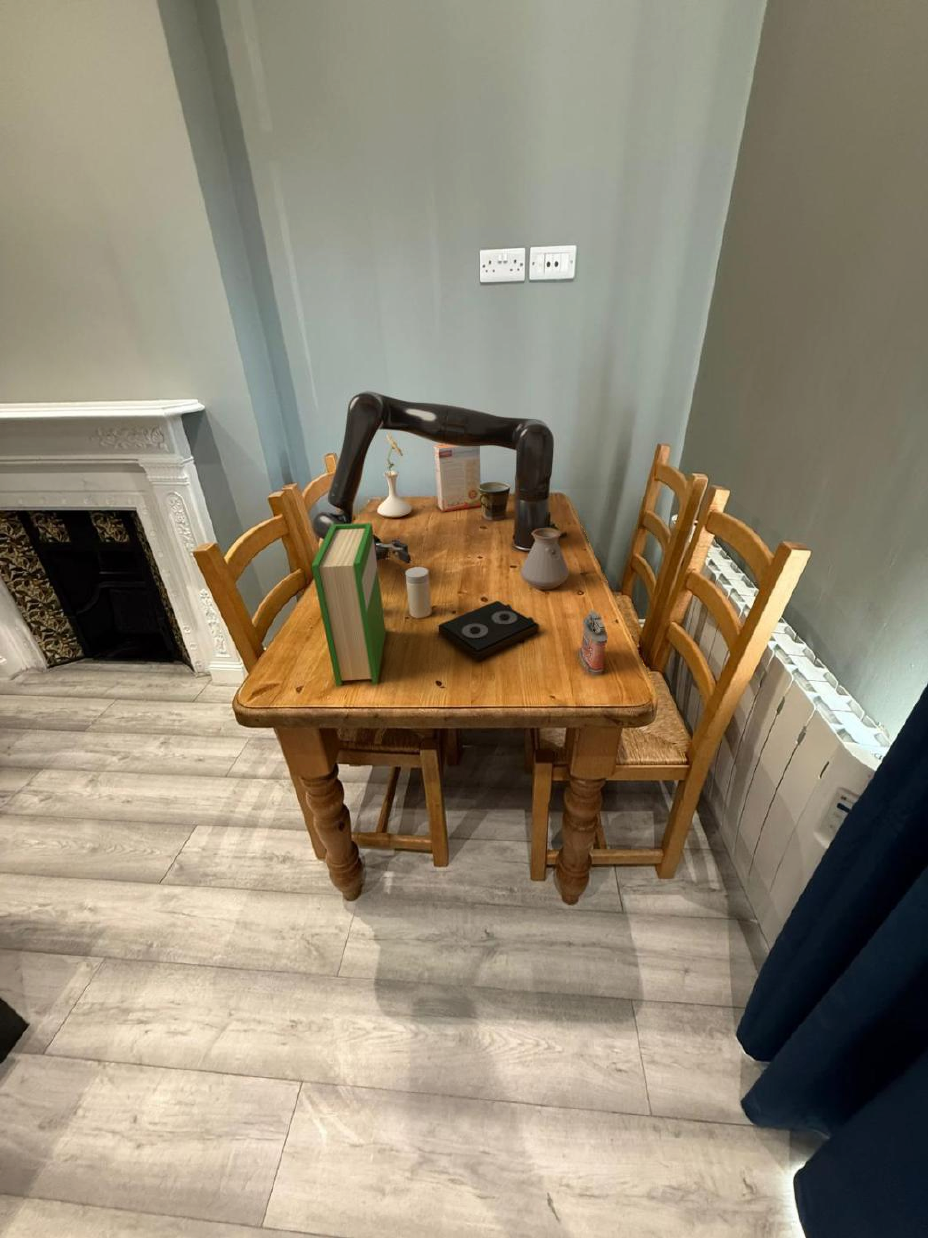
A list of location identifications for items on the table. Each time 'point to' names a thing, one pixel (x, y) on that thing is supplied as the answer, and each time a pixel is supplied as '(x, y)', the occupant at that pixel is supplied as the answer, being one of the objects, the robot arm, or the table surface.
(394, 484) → the flower in vase
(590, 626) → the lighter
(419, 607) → the salt shaker
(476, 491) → the cracker box
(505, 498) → the ceramic cup
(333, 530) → the hardback book
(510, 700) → the table surface
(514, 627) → the stove
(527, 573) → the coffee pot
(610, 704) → the table surface
